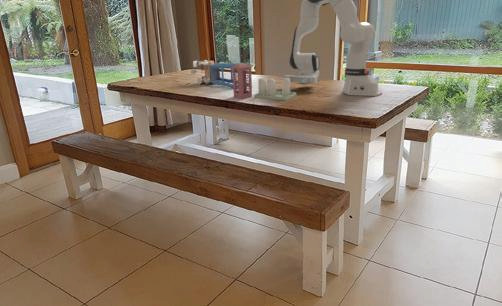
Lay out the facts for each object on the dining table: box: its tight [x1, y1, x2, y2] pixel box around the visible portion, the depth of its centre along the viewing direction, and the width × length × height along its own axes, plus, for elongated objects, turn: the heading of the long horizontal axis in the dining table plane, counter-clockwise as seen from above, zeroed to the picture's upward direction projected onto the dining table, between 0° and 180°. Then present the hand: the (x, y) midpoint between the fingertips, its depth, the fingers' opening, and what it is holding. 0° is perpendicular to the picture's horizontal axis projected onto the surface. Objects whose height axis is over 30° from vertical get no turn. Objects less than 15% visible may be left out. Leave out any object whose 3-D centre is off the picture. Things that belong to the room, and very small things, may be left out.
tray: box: [253, 90, 297, 101], centre depth 222 cm, size 20×14×2 cm
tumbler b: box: [257, 78, 267, 96], centre depth 222 cm, size 5×5×10 cm
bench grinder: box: [190, 59, 251, 90], centre depth 267 cm, size 17×17×45 cm
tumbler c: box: [281, 77, 291, 97], centre depth 219 cm, size 5×5×10 cm
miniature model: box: [231, 62, 253, 100], centre depth 221 cm, size 9×9×20 cm
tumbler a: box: [266, 78, 276, 96], centre depth 219 cm, size 5×5×10 cm
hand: (295, 80), depth 228 cm, fingers open, 8 cm apart
